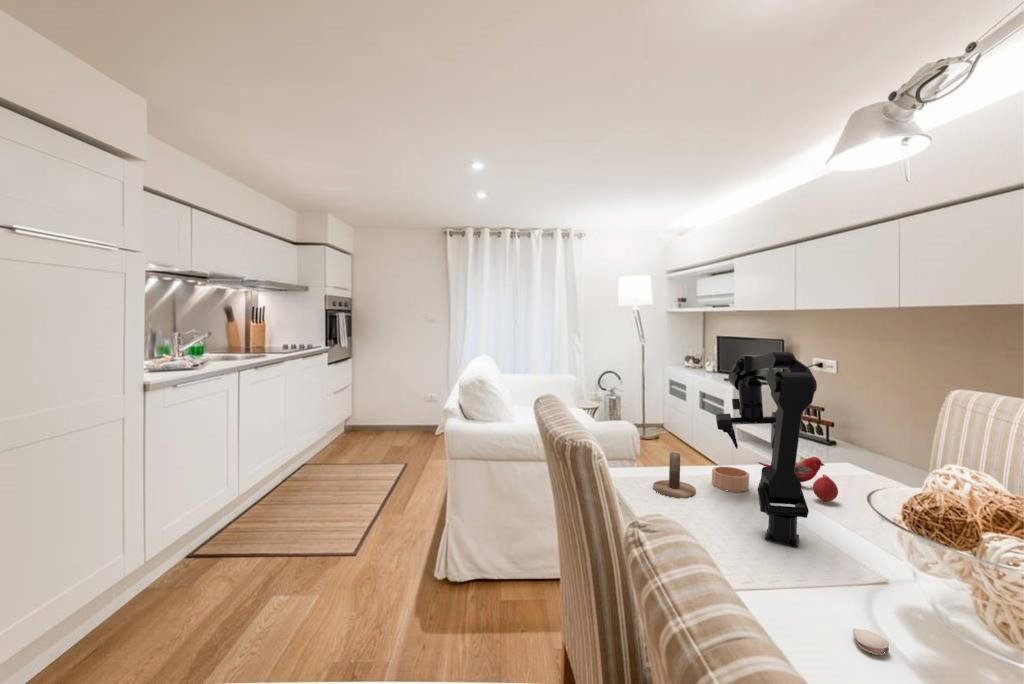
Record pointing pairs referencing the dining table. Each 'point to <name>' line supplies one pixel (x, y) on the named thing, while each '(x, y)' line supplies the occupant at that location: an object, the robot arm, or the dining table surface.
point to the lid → (674, 481)
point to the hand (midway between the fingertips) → (754, 448)
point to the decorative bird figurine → (805, 468)
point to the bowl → (730, 479)
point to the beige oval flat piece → (871, 641)
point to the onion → (825, 489)
